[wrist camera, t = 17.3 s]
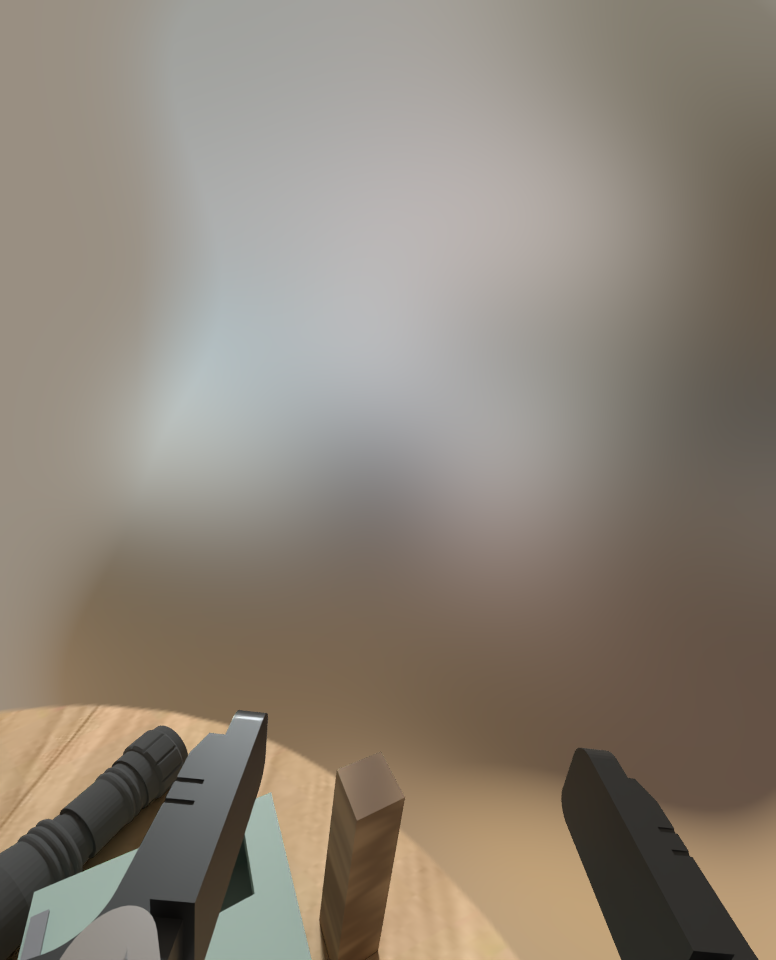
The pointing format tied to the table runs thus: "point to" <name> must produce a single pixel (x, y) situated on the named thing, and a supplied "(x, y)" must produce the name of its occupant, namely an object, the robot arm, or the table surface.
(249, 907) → the peg-in-hole base
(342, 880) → the wooden peg
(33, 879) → the flashlight
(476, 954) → the table surface
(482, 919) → the table surface
